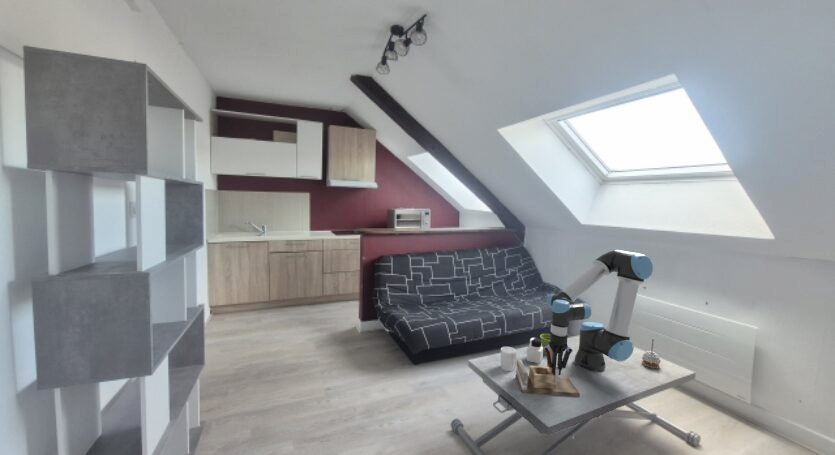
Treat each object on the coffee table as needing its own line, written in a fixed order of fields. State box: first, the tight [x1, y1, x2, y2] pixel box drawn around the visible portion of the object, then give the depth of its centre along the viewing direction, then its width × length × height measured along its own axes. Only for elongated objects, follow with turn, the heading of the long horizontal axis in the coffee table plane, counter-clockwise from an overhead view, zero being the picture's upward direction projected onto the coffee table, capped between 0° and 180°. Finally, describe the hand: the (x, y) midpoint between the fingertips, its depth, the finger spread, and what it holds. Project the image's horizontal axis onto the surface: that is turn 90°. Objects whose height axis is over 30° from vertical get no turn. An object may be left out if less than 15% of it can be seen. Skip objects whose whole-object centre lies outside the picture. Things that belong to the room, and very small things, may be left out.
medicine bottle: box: [526, 337, 544, 365], centre depth 189 cm, size 7×7×12 cm
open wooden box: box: [528, 365, 555, 389], centre depth 162 cm, size 9×9×6 cm
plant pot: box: [539, 333, 550, 353], centre depth 200 cm, size 9×9×9 cm
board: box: [515, 359, 581, 397], centre depth 162 cm, size 26×13×10 cm, turn 87°
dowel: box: [546, 348, 553, 372], centre depth 176 cm, size 4×4×13 cm
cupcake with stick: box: [641, 338, 662, 369], centre depth 186 cm, size 8×8×15 cm
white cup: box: [500, 346, 517, 372], centre depth 179 cm, size 8×8×10 cm
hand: (555, 381), depth 162 cm, fingers closed
